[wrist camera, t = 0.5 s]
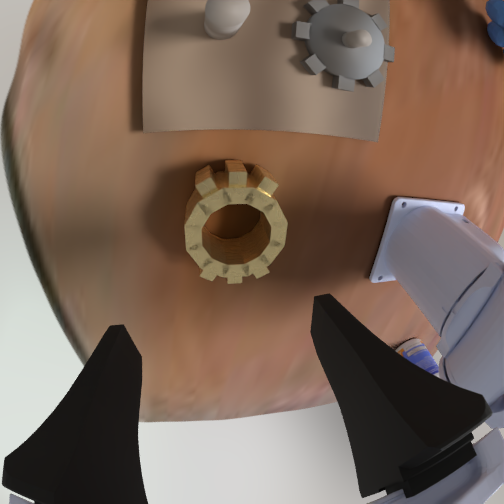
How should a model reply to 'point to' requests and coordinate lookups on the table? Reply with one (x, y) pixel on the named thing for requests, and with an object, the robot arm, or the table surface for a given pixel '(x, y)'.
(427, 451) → the robot arm
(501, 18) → the grapes
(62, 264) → the table surface
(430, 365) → the pill bottle
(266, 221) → the gear
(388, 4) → the gear board
